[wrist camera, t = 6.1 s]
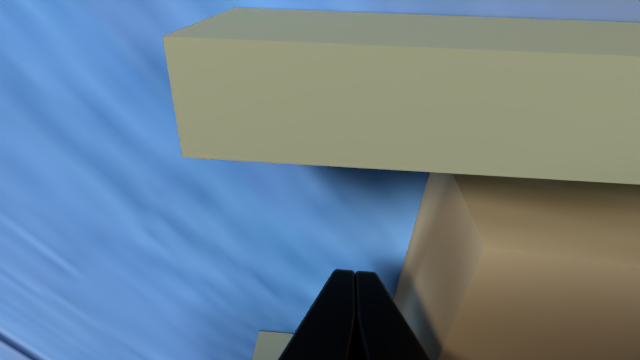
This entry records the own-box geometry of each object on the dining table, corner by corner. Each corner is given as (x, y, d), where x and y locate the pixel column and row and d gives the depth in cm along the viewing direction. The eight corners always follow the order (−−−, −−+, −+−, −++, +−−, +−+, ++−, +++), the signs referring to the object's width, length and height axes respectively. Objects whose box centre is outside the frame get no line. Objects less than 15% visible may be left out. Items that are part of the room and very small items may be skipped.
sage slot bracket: (692, 422, 12) (789, 556, 9) (263, 384, 12) (238, 497, 10) (1099, -34, 6) (1713, -28, 3) (229, -58, 6) (145, -71, 4)
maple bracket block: (618, 323, 10) (728, 477, 7) (392, 292, 10) (408, 431, 7) (726, 176, 8) (950, 310, 5) (436, 138, 8) (484, 246, 5)
